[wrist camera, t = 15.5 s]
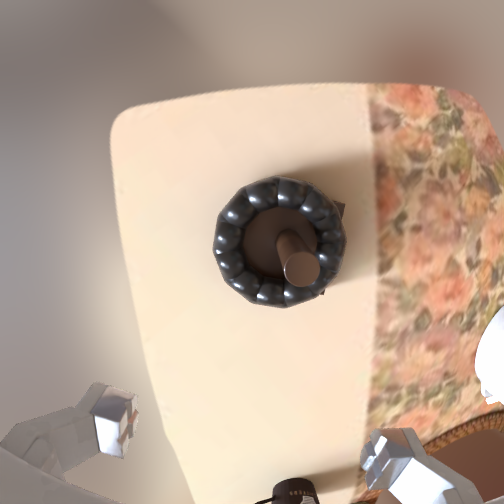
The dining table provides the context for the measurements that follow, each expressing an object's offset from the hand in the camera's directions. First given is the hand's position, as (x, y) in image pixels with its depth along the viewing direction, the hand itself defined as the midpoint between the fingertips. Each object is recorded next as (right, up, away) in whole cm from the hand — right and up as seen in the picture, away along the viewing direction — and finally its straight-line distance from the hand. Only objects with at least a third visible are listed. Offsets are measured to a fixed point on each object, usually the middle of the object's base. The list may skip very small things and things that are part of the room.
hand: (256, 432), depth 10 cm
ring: (+2, +7, +19) cm, 20 cm away
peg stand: (+3, +7, +22) cm, 23 cm away
